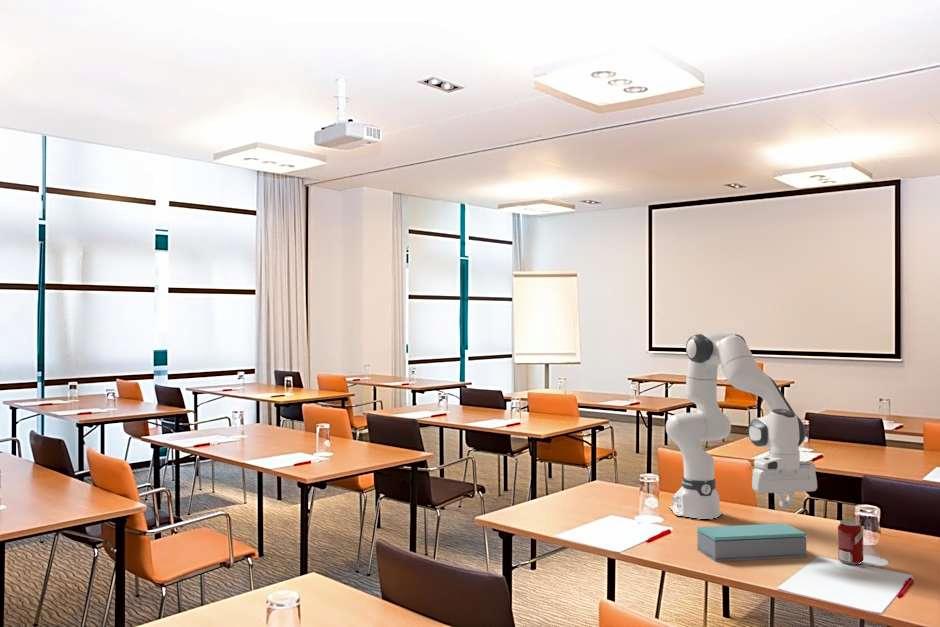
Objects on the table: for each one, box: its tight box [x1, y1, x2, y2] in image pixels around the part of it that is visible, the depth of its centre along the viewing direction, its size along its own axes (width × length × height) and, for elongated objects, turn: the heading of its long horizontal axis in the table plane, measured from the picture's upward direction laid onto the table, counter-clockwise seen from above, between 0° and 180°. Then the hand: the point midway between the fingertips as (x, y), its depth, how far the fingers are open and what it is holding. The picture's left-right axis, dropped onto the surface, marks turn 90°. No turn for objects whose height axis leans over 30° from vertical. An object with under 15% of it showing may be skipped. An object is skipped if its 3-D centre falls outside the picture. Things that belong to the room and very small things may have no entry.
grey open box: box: [696, 530, 808, 562], centre depth 231 cm, size 12×30×6 cm, turn 98°
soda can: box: [837, 519, 865, 565], centre depth 222 cm, size 7×7×12 cm
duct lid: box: [697, 522, 807, 541], centre depth 231 cm, size 12×30×1 cm, turn 98°
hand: (785, 506), depth 230 cm, fingers closed
